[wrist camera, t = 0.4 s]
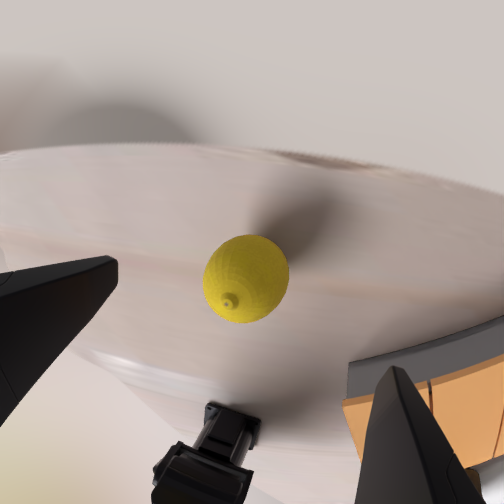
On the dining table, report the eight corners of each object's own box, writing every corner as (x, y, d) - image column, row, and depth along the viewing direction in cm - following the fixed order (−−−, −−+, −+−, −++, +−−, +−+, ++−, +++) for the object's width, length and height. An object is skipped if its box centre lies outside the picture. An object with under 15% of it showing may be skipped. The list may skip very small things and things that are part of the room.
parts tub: (373, 448, 29) (371, 482, 24) (348, 362, 26) (346, 401, 21) (529, 399, 21) (542, 429, 17) (543, 298, 18) (568, 325, 14)
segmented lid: (370, 475, 26) (363, 544, 17) (343, 389, 22) (331, 484, 14) (539, 422, 18) (560, 483, 10) (564, 314, 15) (615, 379, 7)
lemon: (273, 210, 23) (239, 241, 16) (309, 271, 24) (292, 327, 17) (216, 243, 26) (166, 283, 18) (252, 298, 26) (216, 355, 19)
